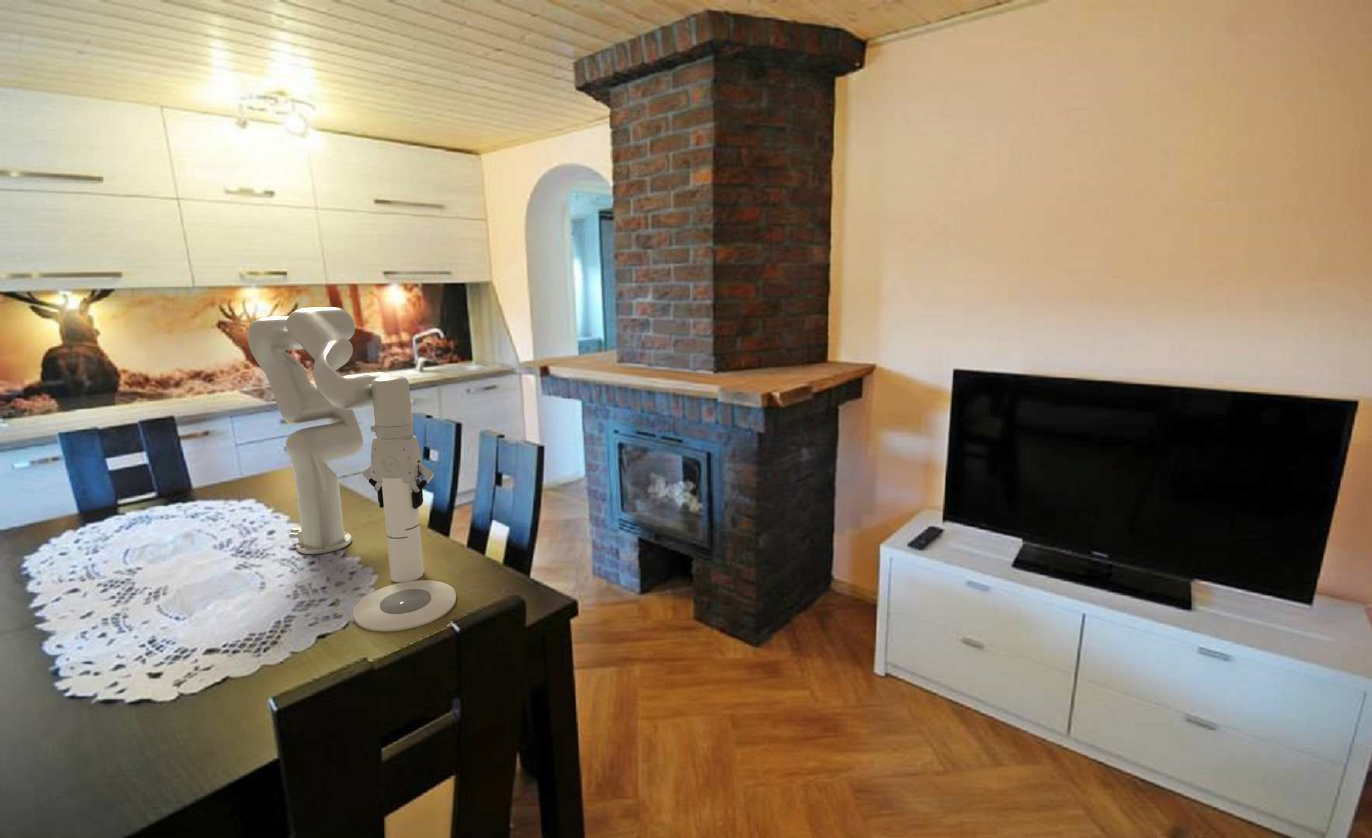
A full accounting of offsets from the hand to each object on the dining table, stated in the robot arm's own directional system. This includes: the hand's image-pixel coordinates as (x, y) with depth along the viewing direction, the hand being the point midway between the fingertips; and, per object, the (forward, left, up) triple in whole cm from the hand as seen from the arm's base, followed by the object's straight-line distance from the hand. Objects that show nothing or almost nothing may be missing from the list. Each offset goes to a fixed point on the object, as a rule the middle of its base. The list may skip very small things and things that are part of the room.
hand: (401, 505), depth 143 cm
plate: (+7, -14, -17) cm, 23 cm away
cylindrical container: (0, 0, -17) cm, 17 cm away
